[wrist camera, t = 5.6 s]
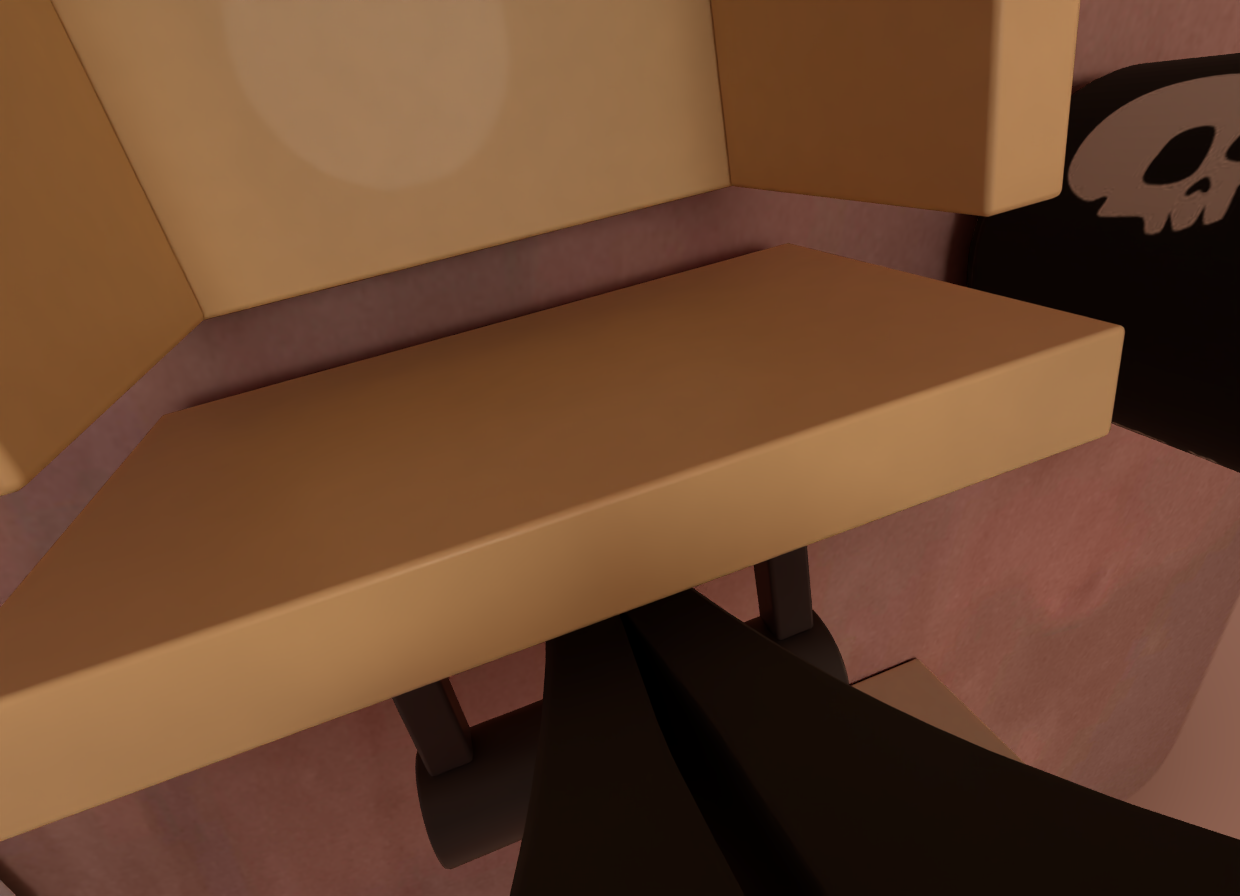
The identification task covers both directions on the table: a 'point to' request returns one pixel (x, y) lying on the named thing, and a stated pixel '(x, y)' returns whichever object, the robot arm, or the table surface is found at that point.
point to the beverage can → (1144, 245)
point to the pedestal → (932, 704)
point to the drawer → (483, 350)
